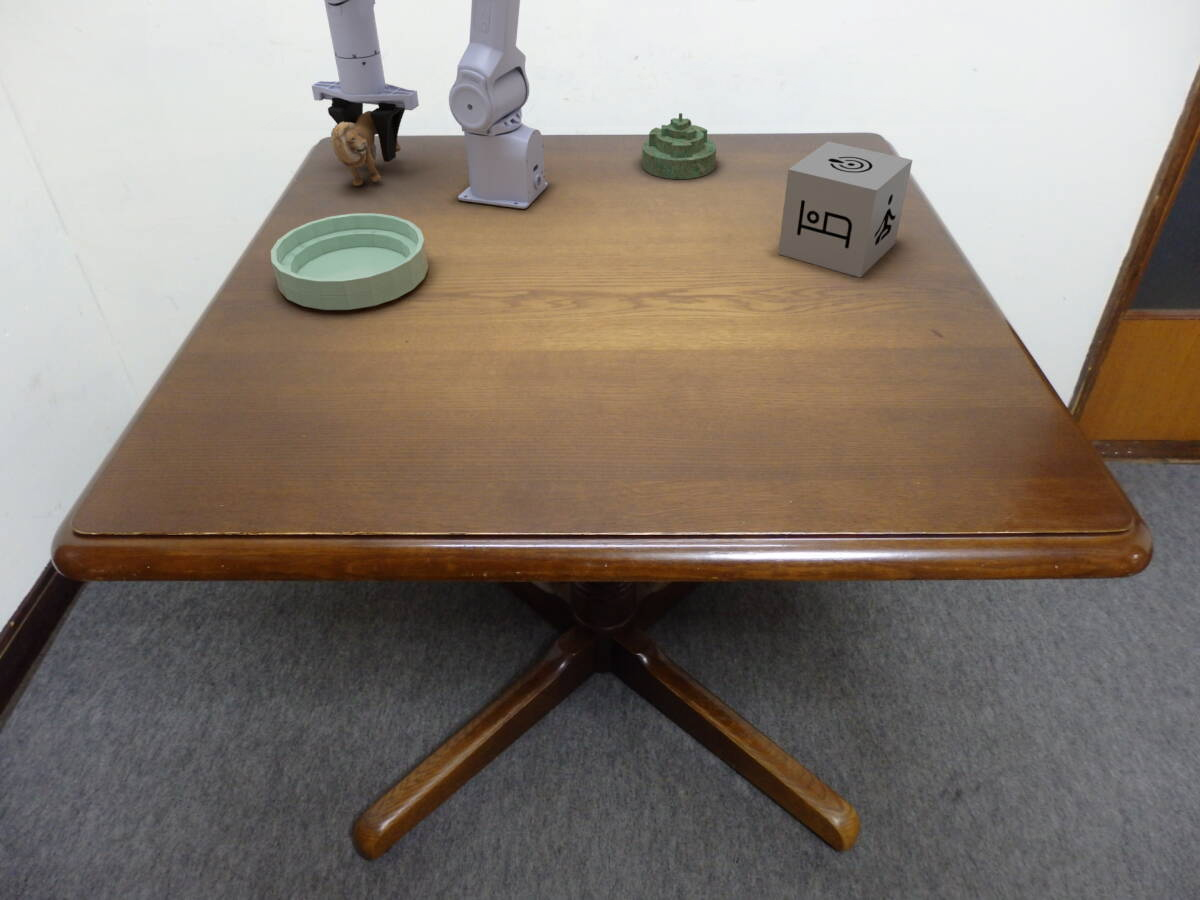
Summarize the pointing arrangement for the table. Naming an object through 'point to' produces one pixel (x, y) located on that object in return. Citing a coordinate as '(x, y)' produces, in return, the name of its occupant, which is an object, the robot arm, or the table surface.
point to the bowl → (349, 261)
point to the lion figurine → (357, 145)
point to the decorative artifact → (678, 151)
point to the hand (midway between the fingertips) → (375, 157)
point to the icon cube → (843, 207)
